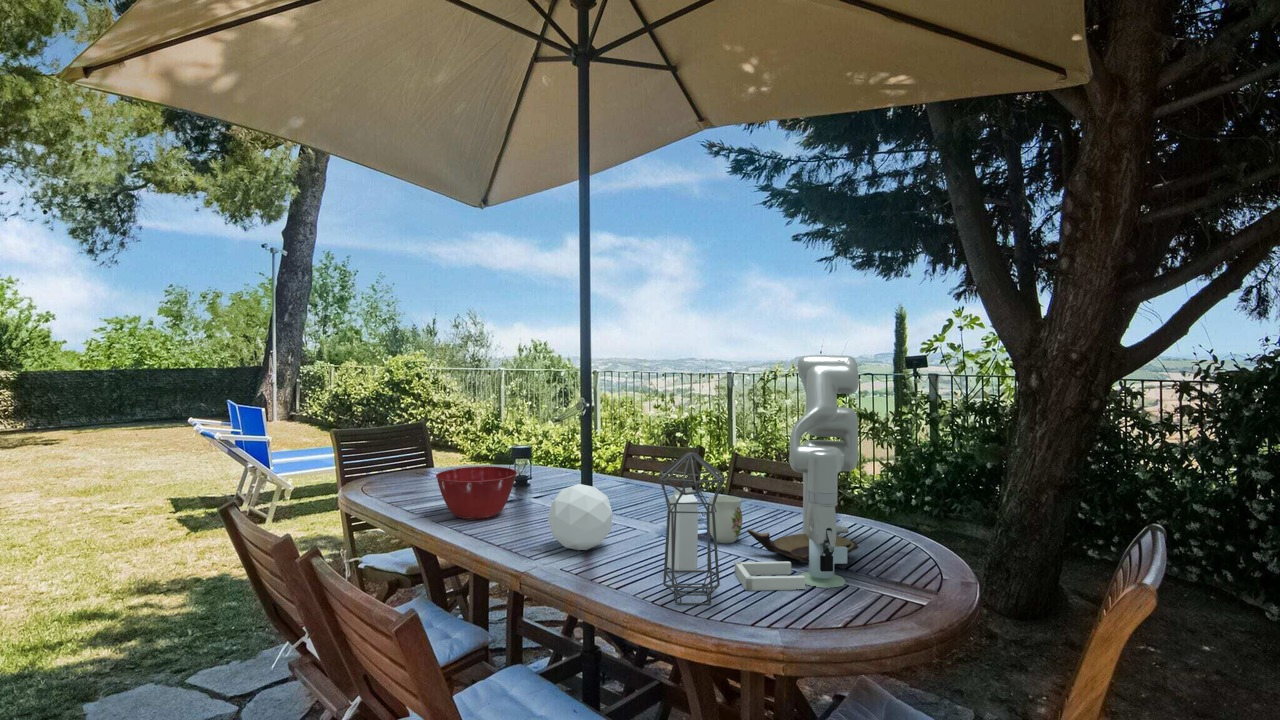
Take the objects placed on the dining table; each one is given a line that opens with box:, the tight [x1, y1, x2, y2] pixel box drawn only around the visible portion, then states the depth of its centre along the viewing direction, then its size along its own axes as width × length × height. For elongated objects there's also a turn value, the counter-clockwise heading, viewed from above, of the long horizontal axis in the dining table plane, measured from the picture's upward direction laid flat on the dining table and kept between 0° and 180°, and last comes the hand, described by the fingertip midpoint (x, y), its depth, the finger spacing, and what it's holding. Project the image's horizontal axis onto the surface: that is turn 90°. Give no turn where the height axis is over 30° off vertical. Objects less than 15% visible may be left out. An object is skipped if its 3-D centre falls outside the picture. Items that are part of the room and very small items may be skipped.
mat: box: [797, 571, 846, 589], centre depth 171 cm, size 12×12×1 cm
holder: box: [734, 561, 806, 592], centre depth 170 cm, size 15×13×3 cm
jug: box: [808, 538, 848, 579], centre depth 171 cm, size 10×6×9 cm, turn 94°
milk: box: [667, 487, 699, 574], centre depth 179 cm, size 6×6×22 cm
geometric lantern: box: [658, 451, 727, 606], centre depth 158 cm, size 16×16×35 cm
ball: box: [547, 483, 613, 551], centre depth 198 cm, size 19×20×20 cm
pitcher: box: [708, 495, 743, 544], centre depth 209 cm, size 11×18×14 cm, turn 148°
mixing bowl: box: [435, 466, 518, 520], centre depth 237 cm, size 28×28×16 cm
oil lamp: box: [746, 528, 860, 563], centre depth 191 cm, size 22×30×8 cm
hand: (821, 566), depth 171 cm, fingers closed on jug, 6 cm apart
